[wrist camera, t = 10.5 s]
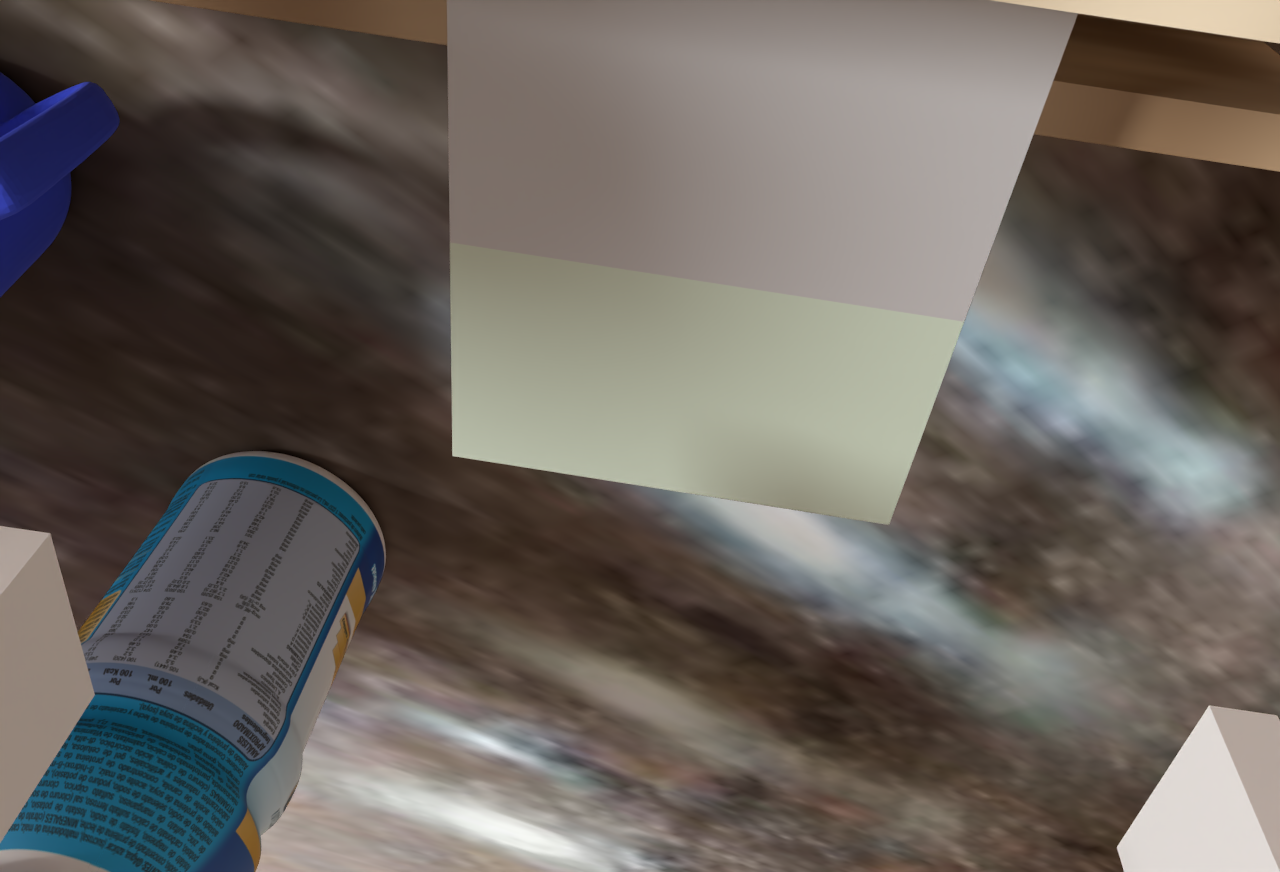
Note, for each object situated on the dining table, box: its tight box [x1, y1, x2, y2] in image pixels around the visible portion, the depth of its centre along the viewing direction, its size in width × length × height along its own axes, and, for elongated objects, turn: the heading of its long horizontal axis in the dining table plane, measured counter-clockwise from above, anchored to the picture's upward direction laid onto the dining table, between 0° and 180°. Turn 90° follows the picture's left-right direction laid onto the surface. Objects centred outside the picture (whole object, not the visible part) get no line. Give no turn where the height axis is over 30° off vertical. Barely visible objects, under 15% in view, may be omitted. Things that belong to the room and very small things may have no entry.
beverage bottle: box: [0, 451, 386, 872], centre depth 34 cm, size 8×8×20 cm
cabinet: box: [447, 0, 1078, 525], centre depth 21 cm, size 8×11×12 cm
